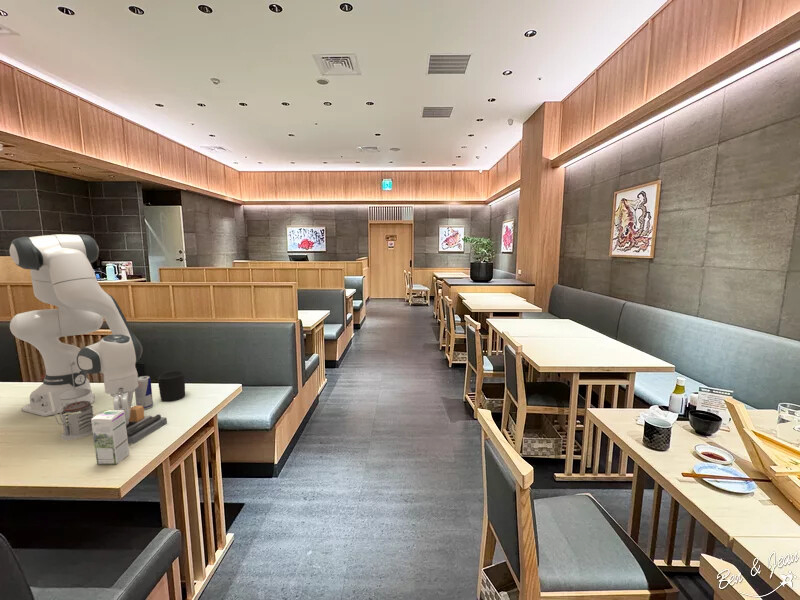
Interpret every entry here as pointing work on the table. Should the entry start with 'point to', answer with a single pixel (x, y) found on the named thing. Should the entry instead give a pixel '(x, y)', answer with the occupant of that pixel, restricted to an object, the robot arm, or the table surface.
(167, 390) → the pen holder
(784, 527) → the table surface
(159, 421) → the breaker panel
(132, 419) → the lever
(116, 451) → the syrup box
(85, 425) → the french press
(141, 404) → the energy drink
